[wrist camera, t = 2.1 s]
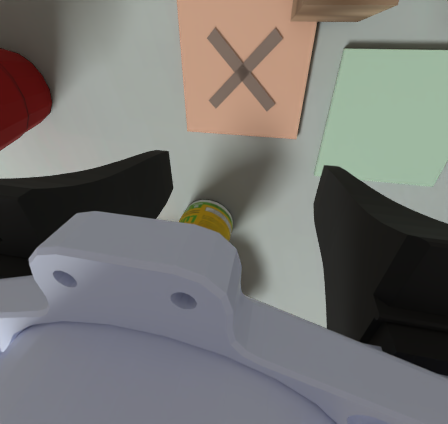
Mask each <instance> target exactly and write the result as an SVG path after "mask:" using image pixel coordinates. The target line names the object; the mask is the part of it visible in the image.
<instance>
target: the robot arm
mask: <svg viewBox="0 0 448 424" xmlns="http://www.w3.org/2000/svg"><path fill="white" fill-rule="evenodd" d="M172 190H173V182H172V174H171V166H170V159H169V151H160V150H154V151H149V152H145V153H142V154H139V155H136V156H133V157H130V158H127V159H124V160H121V161H118V162H114V163H111V164H108V165H104V166H101V167H97V168H93V169H89V170H84V171H79V172H73V173H67V174H60V175H53V176H43V177H31V178H14V179H0V424H448V224H447V223H444V222H441V221H438V220H435V219H433V218H430V217H428V216H425V215H423V214H420V213H418V212H415V211H413V210H411V209H409V208H407V207H404V206H402V205H400V204H398V203H396V202H394V201H392V200H391V199H389V198H387V197H385V196H383V195H382V194H380V193H379V192H377V191H375V190H374V189H372V188H371V187H369V186H368V185H366V184H365V183H363V182H362V181H360V180H359V179H357V178H356V177H355V176H353V175H352V174H350V173H349V172H348V171H346V170H345V169H343V168H341V167H339V166H329V165H324V167H323V170H322V174H321V178H320V182H319V185H318V189H317V193H316V197H315V201H314V222H315V227H316V232H317V237H318V242H319V247H320V252H321V256H322V262H323V268H324V280H325V295H326V315H327V328H324V327H322V326H319V325H317V324H314V323H312V322H309V321H307V320H305V319H302V318H300V317H297V316H295V315H292V314H290V313H288V312H285V311H283V310H280V309H278V308H275V307H273V306H270V305H268V304H266V303H263V302H261V301H258V300H256V299H253V298H251V297H248V296H246V295H244V294H243V293H242V291H241V271H242V265H241V262H240V258H239V255H238V252H237V249H236V248H235V247H234V246H233V245H232V244H231V243H230V242H229V241H228V240H226V239H225V238H224V237H223V236H222V235H221V234H220V233H218V232H215V231H212V230H210V229H207V228H204V227H201V226H198V225H195V224H189V223H181V222H174V221H166V220H159V219H156V218H157V217H158V215H159V214H160V212H161V211H162V209H163V208H164V206H165V205H166V203H167V201H168V199H169V197H170V195H171V192H172Z"/></svg>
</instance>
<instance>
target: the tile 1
mask: <svg viewBox="0 0 448 424" xmlns="http://www.w3.org/2000/svg"><path fill="white" fill-rule="evenodd" d="M292 5H293V0H177V7H178V20H179V32H180V45H181V57H182V70H183V82H184V94H185V107H186V119H187V131H191V132H205V133H219V134H232V135H246V136H260V137H274V138H288V139H296V138H297V133H298V127H299V122H300V116H301V110H302V105H303V99H304V93H305V88H306V82H307V77H308V71H309V65H310V60H311V54H312V48H313V43H314V37H315V31H316V26H317V22H307V21H291V13H292Z"/></svg>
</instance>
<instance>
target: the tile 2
mask: <svg viewBox="0 0 448 424" xmlns="http://www.w3.org/2000/svg"><path fill="white" fill-rule="evenodd" d="M447 161H448V50H416V49H348V48H344V50H343V54H342V59H341V63H340V67H339V71H338V75H337V80H336V84H335V88H334V92H333V96H332V100H331V105H330V109H329V113H328V117H327V121H326V126H325V130H324V134H323V138H322V142H321V146H320V151H319V155H318V159H317V163H316V167H315V171H314V176H321V174H322V170H323V167H324V165H329V166H339V167H341V168H343V169H345V170H346V171H348V172H349V173H350V174H352V175H353V176H355V177H356V178H357V179H359V180H366V181H376V182H387V183H398V184H408V185H419V186H430V187H433V185H434V184H435V182H436V180H437V178H438V177H439V175H440V173H441V171H442V170H443V168H444V166H445V164H446V163H447Z"/></svg>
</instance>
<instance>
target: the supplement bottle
mask: <svg viewBox="0 0 448 424" xmlns="http://www.w3.org/2000/svg"><path fill="white" fill-rule="evenodd" d="M179 222H181V223H189V224H195V225H198V226H201V227H204V228H207V229H210V230H212V231H215V232H218V233H220V234H221V235H222V236H223V237H224V238H225V239H226V240H228V241H229V240H230V236H231V233H232V229H233V220H232V217H231V214H230V213H229V211H228V210H227V209H226V208H225V207H224V206H222V205H221V204H219V203H217V202H214V201H210V200H199V201H196V202H193V203H192V204H190V205H189V206H188V207H187V209H186V210H185V212H184V214H183V215H182V217H181V219H180V220H179Z"/></svg>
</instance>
